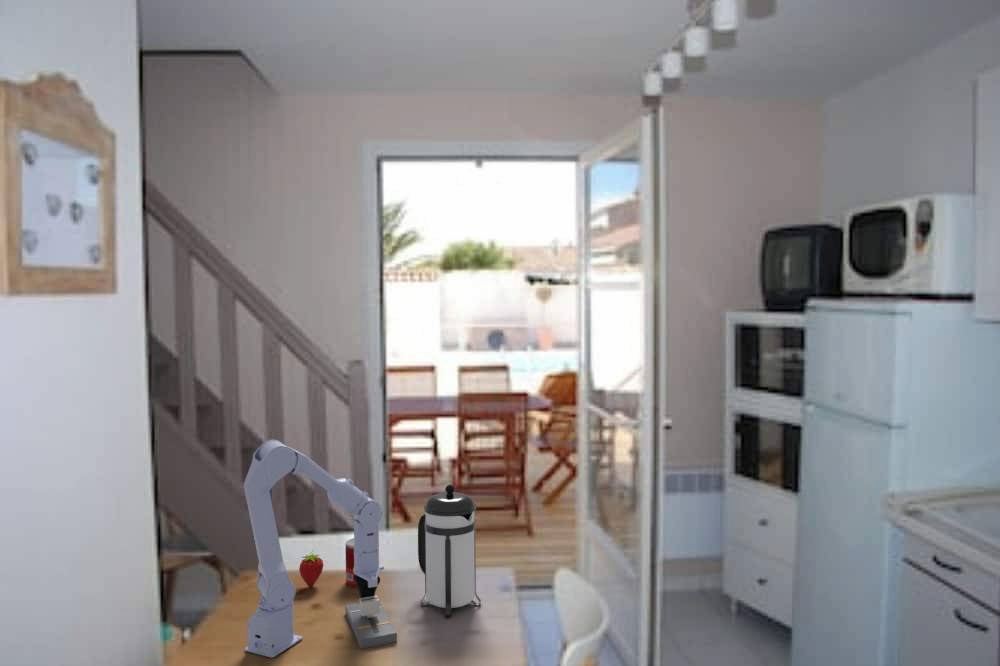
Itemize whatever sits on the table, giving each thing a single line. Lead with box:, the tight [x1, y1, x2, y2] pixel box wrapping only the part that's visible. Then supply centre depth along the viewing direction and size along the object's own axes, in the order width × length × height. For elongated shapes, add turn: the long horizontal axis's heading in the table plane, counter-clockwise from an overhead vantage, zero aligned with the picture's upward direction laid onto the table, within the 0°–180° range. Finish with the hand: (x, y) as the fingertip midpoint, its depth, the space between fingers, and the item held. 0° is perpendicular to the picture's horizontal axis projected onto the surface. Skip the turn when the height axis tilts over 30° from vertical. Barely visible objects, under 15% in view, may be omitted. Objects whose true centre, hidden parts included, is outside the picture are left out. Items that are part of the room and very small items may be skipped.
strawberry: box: [299, 550, 324, 588], centre depth 179 cm, size 6×8×10 cm
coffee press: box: [417, 484, 482, 618], centre depth 168 cm, size 17×16×30 cm
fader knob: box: [359, 595, 381, 618], centre depth 156 cm, size 3×4×4 cm
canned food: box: [345, 537, 358, 588], centre depth 182 cm, size 8×8×11 cm
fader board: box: [345, 602, 398, 650], centre depth 156 cm, size 19×8×2 cm, turn 22°
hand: (367, 606), depth 159 cm, fingers closed
